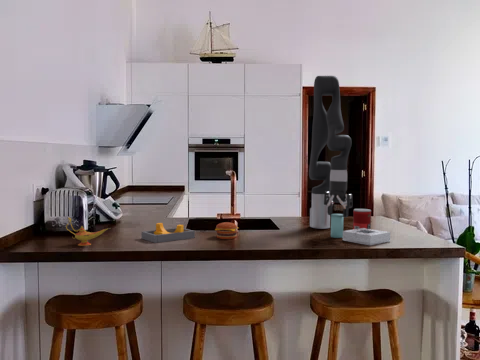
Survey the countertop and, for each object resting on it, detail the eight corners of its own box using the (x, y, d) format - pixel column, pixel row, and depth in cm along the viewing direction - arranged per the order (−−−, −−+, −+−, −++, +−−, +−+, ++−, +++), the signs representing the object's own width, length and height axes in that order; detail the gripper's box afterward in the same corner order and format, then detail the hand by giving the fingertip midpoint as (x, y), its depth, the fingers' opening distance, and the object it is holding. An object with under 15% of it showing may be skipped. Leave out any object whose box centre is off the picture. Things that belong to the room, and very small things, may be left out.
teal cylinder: (328, 236, 202) (328, 214, 202) (336, 235, 206) (336, 213, 205) (337, 238, 198) (338, 215, 197) (345, 237, 201) (346, 214, 201)
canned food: (371, 234, 208) (371, 210, 208) (353, 233, 210) (353, 210, 209) (369, 231, 216) (370, 208, 215) (352, 231, 217) (353, 208, 217)
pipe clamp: (154, 239, 195) (153, 224, 195) (158, 237, 199) (158, 222, 199) (179, 241, 191) (178, 226, 191) (183, 239, 195) (183, 224, 195)
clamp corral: (141, 238, 194) (141, 231, 194) (180, 233, 207) (180, 227, 206) (155, 242, 185) (155, 235, 185) (194, 237, 197) (194, 230, 197)
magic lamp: (107, 246, 177) (107, 218, 176) (62, 246, 177) (62, 218, 177) (113, 243, 184) (113, 216, 183) (69, 242, 184) (69, 215, 184)
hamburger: (218, 235, 205) (218, 220, 204) (239, 236, 203) (239, 221, 202) (213, 238, 195) (213, 223, 195) (234, 239, 194) (235, 224, 193)
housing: (342, 240, 193) (342, 231, 193) (362, 236, 202) (362, 227, 202) (370, 245, 182) (370, 235, 182) (390, 241, 191) (390, 232, 191)
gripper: (320, 179, 203) (319, 214, 205) (346, 181, 192) (345, 218, 194) (331, 178, 208) (330, 213, 209) (356, 180, 197) (356, 217, 198)
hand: (337, 216), depth 201 cm, fingers open, 8 cm apart
